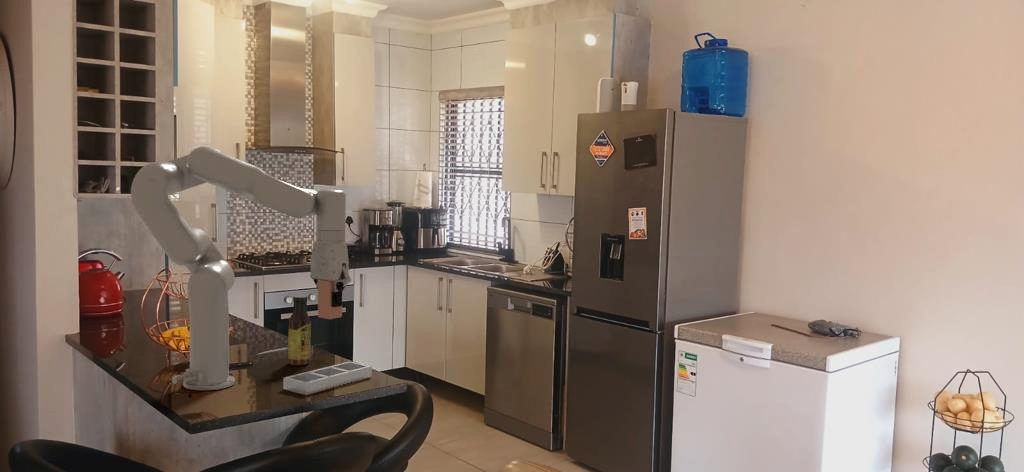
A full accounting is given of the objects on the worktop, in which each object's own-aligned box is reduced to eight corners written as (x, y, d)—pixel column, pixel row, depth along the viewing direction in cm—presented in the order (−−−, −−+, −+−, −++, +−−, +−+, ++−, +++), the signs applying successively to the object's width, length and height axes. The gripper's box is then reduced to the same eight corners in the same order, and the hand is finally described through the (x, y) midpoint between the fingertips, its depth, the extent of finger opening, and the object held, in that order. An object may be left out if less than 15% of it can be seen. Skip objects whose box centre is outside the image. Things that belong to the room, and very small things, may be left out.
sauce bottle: (303, 367, 227) (304, 298, 226) (283, 365, 229) (284, 297, 227) (314, 362, 234) (314, 295, 232) (294, 360, 235) (295, 294, 234)
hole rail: (306, 395, 200) (306, 383, 199) (283, 389, 204) (283, 377, 204) (371, 376, 219) (371, 366, 219) (349, 371, 224) (349, 361, 224)
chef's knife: (248, 355, 242) (253, 356, 240) (248, 351, 242) (253, 352, 240) (303, 346, 256) (308, 347, 254) (302, 342, 256) (308, 343, 254)
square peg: (329, 319, 207) (330, 281, 206) (317, 317, 210) (318, 279, 209) (341, 317, 211) (342, 279, 210) (330, 314, 213) (330, 278, 213)
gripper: (297, 235, 210) (297, 303, 212) (343, 239, 201) (342, 311, 202) (319, 233, 216) (318, 300, 218) (364, 238, 207) (363, 307, 208)
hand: (330, 304), depth 210 cm, fingers closed on square peg, 4 cm apart
